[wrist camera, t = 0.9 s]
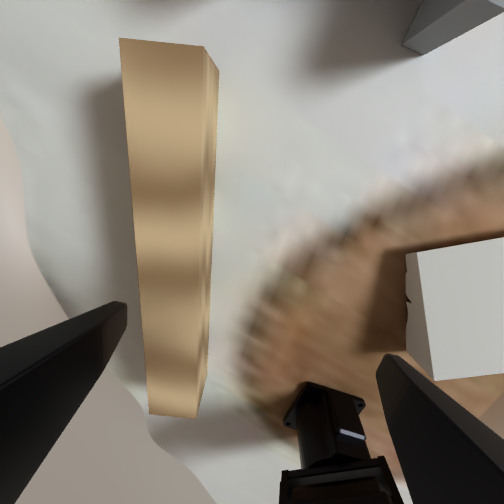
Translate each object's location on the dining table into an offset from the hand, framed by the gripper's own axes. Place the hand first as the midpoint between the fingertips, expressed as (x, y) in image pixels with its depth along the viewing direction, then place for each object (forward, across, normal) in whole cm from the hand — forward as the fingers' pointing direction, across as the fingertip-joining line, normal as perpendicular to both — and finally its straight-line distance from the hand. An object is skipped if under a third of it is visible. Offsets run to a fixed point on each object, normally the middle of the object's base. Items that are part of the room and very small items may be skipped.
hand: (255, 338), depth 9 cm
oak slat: (+13, +6, +4) cm, 14 cm away
